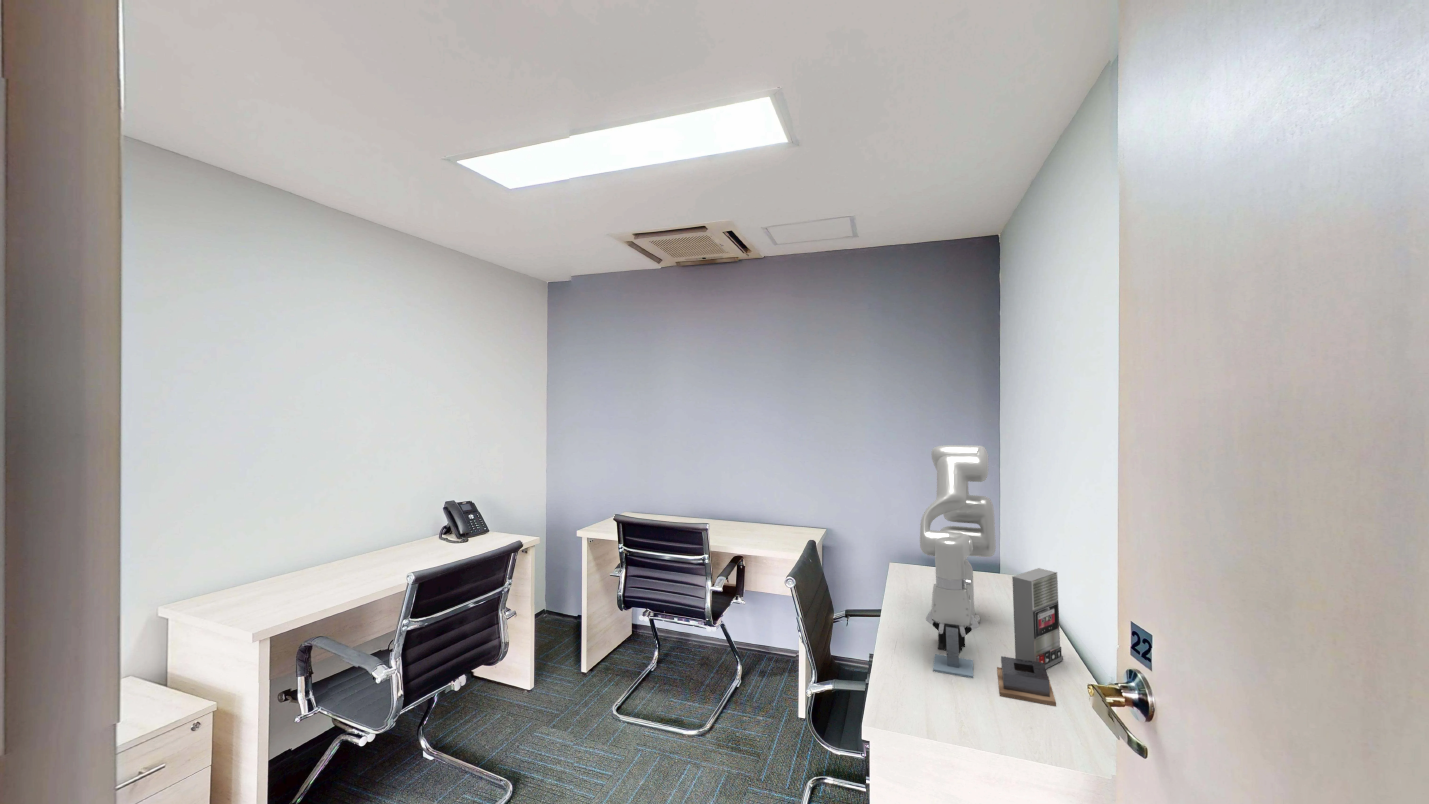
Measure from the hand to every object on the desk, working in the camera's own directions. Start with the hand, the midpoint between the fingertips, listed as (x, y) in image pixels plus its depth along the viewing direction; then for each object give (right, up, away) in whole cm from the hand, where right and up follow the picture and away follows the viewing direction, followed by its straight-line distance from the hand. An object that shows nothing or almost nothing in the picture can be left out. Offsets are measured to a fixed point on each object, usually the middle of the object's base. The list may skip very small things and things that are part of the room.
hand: (952, 647), depth 149 cm
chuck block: (+13, -5, -12) cm, 19 cm away
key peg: (0, -5, 0) cm, 5 cm away
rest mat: (0, -5, 0) cm, 5 cm away
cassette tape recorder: (+25, -5, 0) cm, 25 cm away
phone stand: (+5, -6, +13) cm, 15 cm away
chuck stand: (+13, -5, -12) cm, 19 cm away
